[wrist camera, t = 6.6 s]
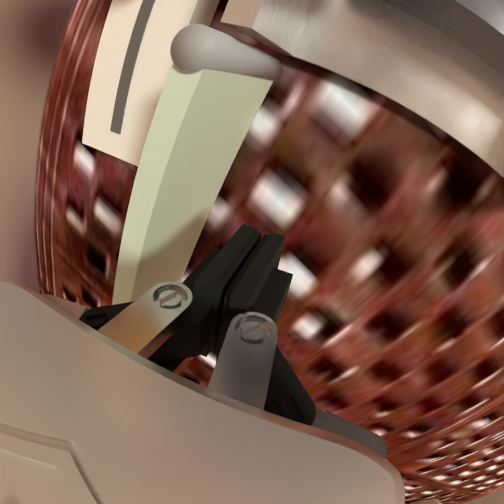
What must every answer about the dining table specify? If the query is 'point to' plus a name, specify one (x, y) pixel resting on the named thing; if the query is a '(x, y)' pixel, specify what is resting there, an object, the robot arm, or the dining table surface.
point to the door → (189, 153)
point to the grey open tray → (400, 55)
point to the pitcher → (427, 501)
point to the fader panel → (135, 70)
